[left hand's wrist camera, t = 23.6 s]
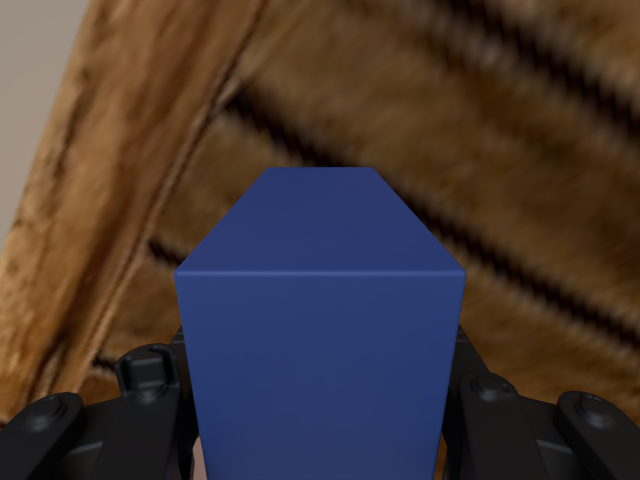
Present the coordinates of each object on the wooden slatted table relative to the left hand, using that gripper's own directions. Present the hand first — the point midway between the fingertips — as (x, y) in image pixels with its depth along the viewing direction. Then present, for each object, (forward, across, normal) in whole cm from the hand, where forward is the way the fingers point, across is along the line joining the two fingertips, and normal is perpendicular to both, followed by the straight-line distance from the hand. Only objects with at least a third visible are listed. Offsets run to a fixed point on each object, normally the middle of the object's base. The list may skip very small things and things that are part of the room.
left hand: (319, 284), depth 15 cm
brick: (+3, 0, 0) cm, 3 cm away
